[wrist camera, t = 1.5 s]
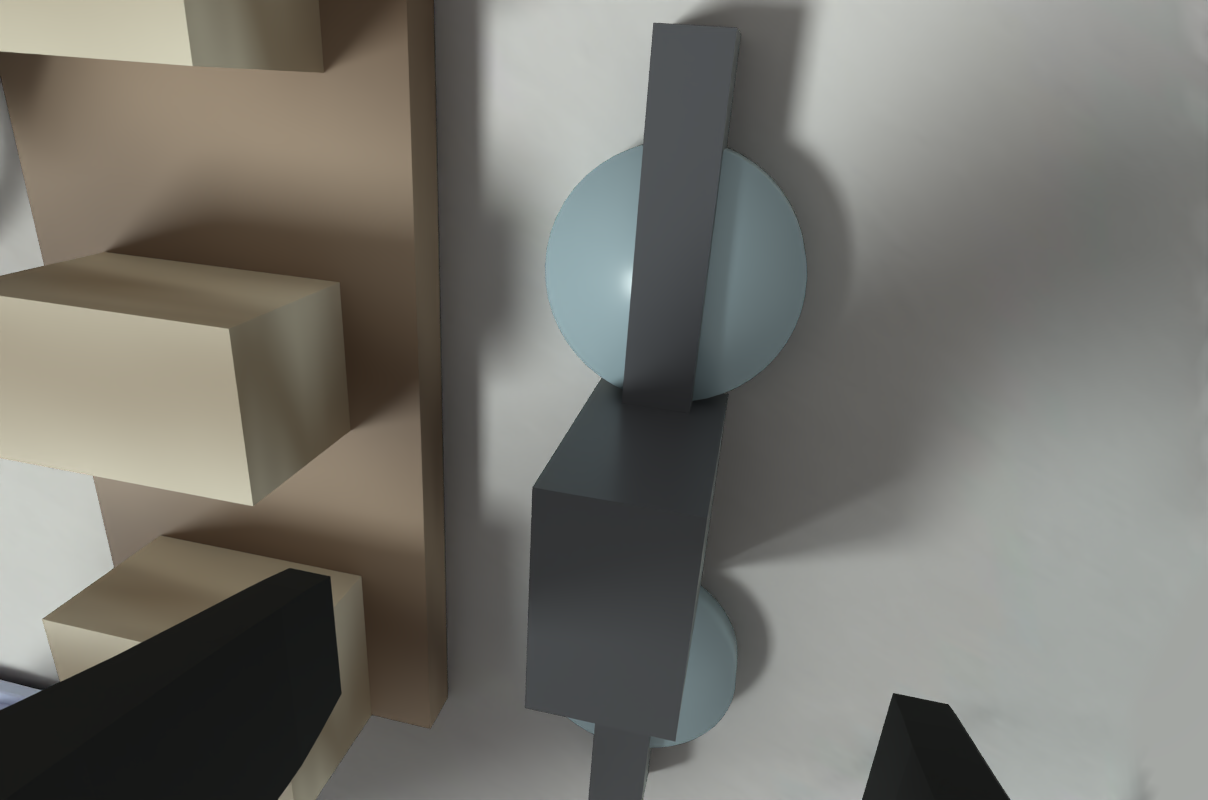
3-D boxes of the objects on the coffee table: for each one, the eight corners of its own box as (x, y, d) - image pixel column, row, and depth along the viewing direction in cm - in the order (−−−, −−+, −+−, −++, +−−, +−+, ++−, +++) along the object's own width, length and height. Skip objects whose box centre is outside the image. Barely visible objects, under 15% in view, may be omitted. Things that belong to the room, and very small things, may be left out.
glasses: (714, 788, 18) (695, 996, 13) (536, 746, 18) (467, 932, 14) (846, 40, 11) (885, 8, 7) (567, 23, 12) (459, -14, 8)
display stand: (447, 697, 18) (365, 845, 15) (165, 633, 20) (26, 753, 16) (429, -208, 11) (262, -352, 8) (-11, -209, 13) (-329, -332, 9)
